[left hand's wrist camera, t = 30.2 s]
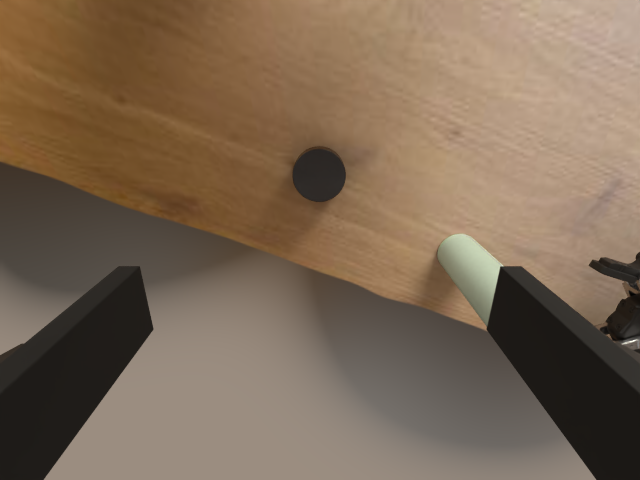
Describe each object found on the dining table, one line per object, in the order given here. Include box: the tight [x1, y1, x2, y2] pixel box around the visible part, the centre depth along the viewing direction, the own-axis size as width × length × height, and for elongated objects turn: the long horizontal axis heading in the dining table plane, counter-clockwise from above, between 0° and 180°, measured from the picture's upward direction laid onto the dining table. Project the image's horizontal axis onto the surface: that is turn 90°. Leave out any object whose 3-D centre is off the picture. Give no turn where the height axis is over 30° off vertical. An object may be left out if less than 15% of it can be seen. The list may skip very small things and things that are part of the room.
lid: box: [293, 146, 346, 202], centre depth 36 cm, size 6×6×2 cm
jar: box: [437, 234, 503, 326], centre depth 34 cm, size 5×5×16 cm
